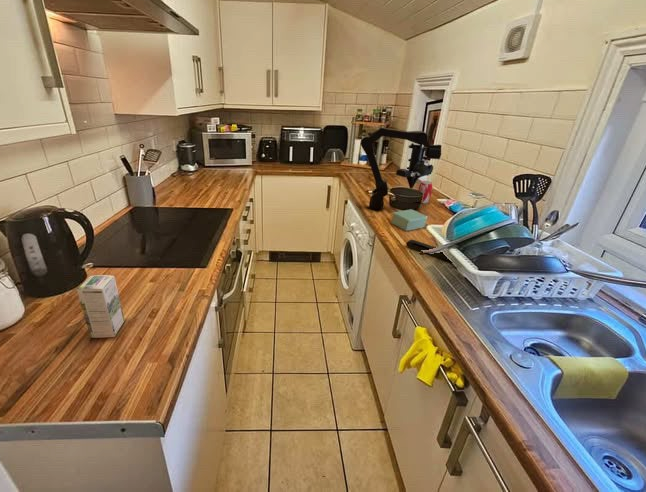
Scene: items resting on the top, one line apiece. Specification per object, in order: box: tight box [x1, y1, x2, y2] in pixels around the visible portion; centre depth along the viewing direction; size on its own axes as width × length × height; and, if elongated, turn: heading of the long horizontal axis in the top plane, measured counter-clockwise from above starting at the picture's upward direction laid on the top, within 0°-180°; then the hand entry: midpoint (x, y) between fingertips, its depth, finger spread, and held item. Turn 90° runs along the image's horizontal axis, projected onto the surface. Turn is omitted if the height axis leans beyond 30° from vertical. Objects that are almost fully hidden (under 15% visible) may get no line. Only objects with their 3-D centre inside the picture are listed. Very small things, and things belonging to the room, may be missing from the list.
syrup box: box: [76, 274, 125, 339], centre depth 73 cm, size 6×6×14 cm
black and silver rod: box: [406, 239, 452, 263], centre depth 117 cm, size 18×3×3 cm, turn 47°
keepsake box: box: [391, 213, 427, 232], centre depth 142 cm, size 10×12×5 cm
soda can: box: [417, 180, 434, 205], centre depth 172 cm, size 7×7×12 cm
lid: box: [392, 208, 429, 222], centre depth 140 cm, size 10×12×1 cm
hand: (411, 188), depth 154 cm, fingers closed
